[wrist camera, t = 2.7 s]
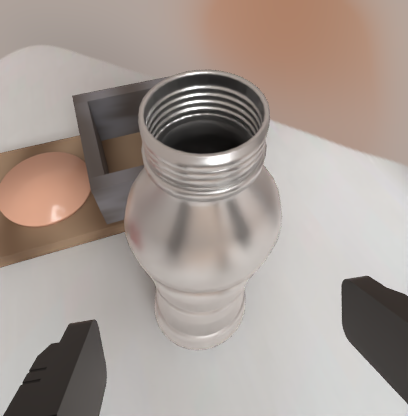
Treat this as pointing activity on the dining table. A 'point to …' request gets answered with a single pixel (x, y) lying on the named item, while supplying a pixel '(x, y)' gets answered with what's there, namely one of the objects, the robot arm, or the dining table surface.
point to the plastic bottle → (202, 202)
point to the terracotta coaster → (44, 189)
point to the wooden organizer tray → (96, 168)
